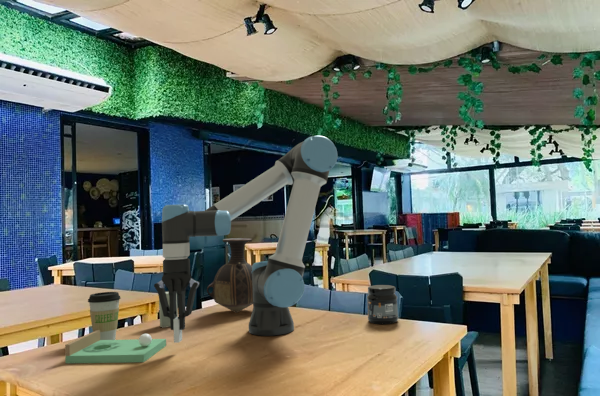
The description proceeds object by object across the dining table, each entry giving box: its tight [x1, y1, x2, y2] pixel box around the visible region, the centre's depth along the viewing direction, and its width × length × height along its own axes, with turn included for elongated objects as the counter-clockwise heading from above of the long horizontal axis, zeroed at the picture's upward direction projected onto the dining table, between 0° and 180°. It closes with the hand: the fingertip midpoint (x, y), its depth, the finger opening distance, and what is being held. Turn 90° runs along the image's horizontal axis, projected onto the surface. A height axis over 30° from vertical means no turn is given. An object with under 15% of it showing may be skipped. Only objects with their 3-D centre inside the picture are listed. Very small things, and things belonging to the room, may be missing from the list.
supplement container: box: [366, 284, 399, 325], centre depth 157 cm, size 10×10×12 cm
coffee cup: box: [87, 291, 122, 340], centre depth 145 cm, size 10×10×15 cm
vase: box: [206, 237, 253, 314], centre depth 183 cm, size 23×19×30 cm
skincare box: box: [158, 291, 179, 328], centre depth 163 cm, size 6×4×12 cm
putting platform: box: [64, 330, 167, 364], centre depth 129 cm, size 22×16×5 cm
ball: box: [138, 333, 153, 347], centre depth 129 cm, size 4×4×4 cm
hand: (178, 341), depth 128 cm, fingers closed
